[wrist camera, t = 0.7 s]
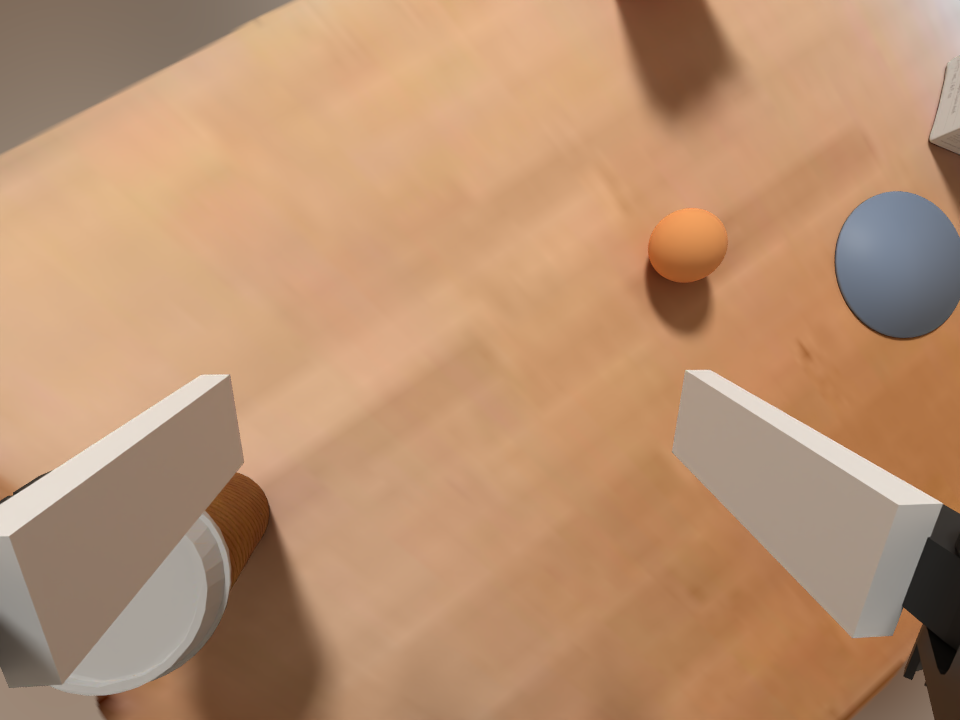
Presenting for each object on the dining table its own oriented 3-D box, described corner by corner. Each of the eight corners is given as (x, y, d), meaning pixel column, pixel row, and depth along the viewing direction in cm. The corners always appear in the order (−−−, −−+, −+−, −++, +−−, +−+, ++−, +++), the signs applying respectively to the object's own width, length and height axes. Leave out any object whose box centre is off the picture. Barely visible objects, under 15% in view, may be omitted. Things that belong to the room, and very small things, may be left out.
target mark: (965, 338, 40) (967, 338, 40) (836, 336, 39) (838, 336, 39) (960, 196, 41) (963, 195, 41) (833, 188, 39) (835, 187, 39)
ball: (698, 289, 37) (745, 275, 32) (635, 287, 37) (673, 272, 31) (697, 224, 37) (744, 198, 32) (635, 220, 37) (672, 194, 31)
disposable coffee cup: (246, 422, 32) (145, 450, 21) (318, 532, 33) (258, 622, 21) (123, 497, 31) (-61, 572, 19) (199, 609, 32) (64, 751, 20)
